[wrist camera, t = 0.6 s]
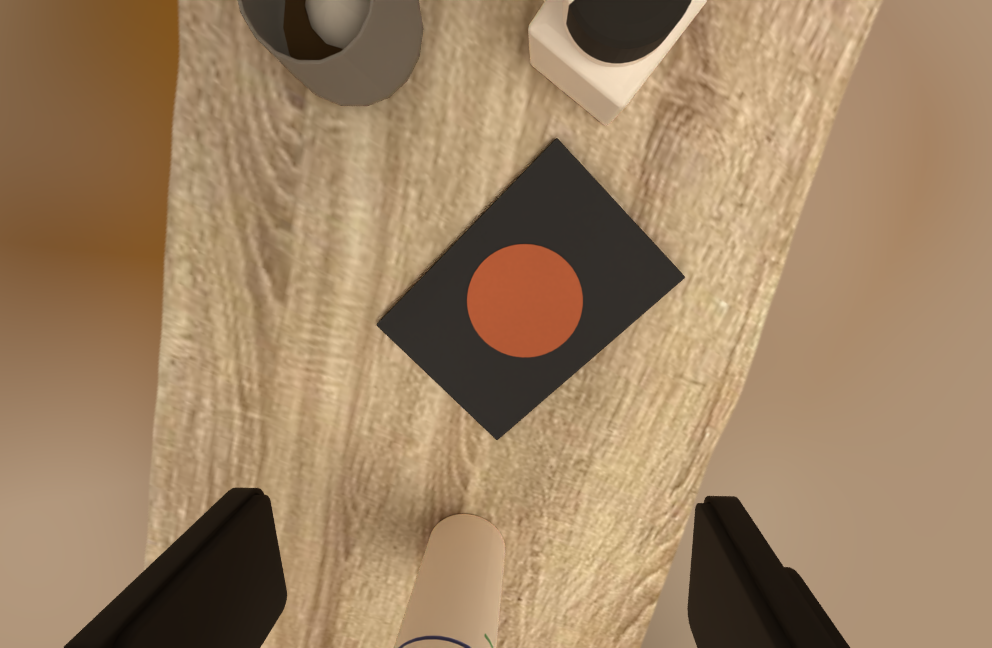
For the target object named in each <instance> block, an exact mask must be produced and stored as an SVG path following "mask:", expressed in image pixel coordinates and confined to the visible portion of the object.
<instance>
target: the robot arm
mask: <svg viewBox="0 0 992 648" xmlns="http://www.w3.org/2000/svg"><path fill="white" fill-rule="evenodd" d="M286 600H287V590H286V584H285V579H284V573H283V568H282V562H281V557H280V551H279V546H278V540H277V535H276V529H275V524H274V518H273V513H272V507H271V502H270V498H269V497H268V496H267V495H264V493H263V491H262V490H261V489H259V488H232V489H231V490H229V491H228V492H227V493H226V494H225V495H224V496H223V497H222V498H221V499H220V500H219V501H217V502H216V503H215V504H214V505H213V506H212V507H211V508H210V509H209V510H208V511H207V512H206V513H205V514H204V515H203V516H202V517H201V518H199V519H198V520H197V521H196V522H195V523H194V524H193V525H192V526H191V527H190V528H189V529H188V530H187V531H186V532H185V533H184V534H183V535H181V536H180V537H179V538H178V539H177V540H176V541H175V542H174V543H173V544H172V545H171V546H170V547H169V548H168V549H167V550H166V551H165V552H164V553H162V554H161V555H160V556H159V557H158V558H157V559H156V560H155V561H154V562H153V563H152V564H151V565H150V566H149V567H148V568H147V569H146V570H144V571H143V572H142V573H141V574H140V575H139V576H138V577H137V578H136V579H135V580H134V581H133V582H132V583H131V584H130V585H129V586H128V587H126V588H125V590H123V591H122V592H121V593H120V594H119V595H118V596H117V597H116V598H115V599H114V600H113V601H112V602H111V603H110V604H109V605H107V606H106V607H105V608H104V609H103V610H102V611H101V612H100V613H99V614H98V615H97V616H96V617H95V618H94V619H93V620H92V621H91V622H89V623H88V624H87V625H86V626H85V627H84V628H83V629H82V630H81V631H80V632H79V633H78V634H77V635H76V636H75V637H74V638H73V639H72V640H70V641H69V642H68V643H67V644H66V645H65V646H64V648H260V647H261V645H262V644H263V642H264V641H265V639H266V637H267V636H268V634H269V633H270V631H271V629H272V628H273V626H274V624H275V623H276V621H277V620H278V618H279V616H280V615H281V613H282V611H283V609H284V607H285V604H286ZM688 618H689V624H690V628H691V631H692V633H693V636H694V639H695V642H696V645H697V648H850V647H849V645H848V644H847V643H846V641H845V640H844V638H843V637H842V635H841V634H840V633H839V631H838V630H837V628H836V627H835V625H834V624H833V622H832V621H831V619H830V618H829V617H828V615H827V614H826V612H825V611H824V609H823V608H822V607H821V605H820V604H819V602H818V601H817V599H816V598H815V597H814V595H813V594H812V592H811V591H810V589H809V588H808V586H807V585H806V583H805V582H804V581H803V579H802V578H801V577H800V575H799V574H798V573H797V572H796V571H795V570H794V569H792V568H790V567H789V568H788V567H783V565H782V564H781V562H780V561H779V559H778V558H777V556H776V555H775V553H774V552H773V550H772V549H771V547H770V546H769V544H768V543H767V541H766V540H765V538H764V537H763V535H762V534H761V532H760V531H759V529H758V528H757V526H756V525H755V523H754V522H753V520H752V519H751V517H750V516H749V514H748V513H747V511H746V510H745V508H744V507H743V505H742V504H741V502H740V501H739V499H738V498H737V497H734V496H733V497H731V496H707V497H706V498H705V500H704V503H698V504H697V505H696V508H695V519H694V533H693V545H692V558H691V571H690V584H689V597H688Z"/></svg>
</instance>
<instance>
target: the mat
mask: <svg viewBox="0 0 992 648" xmlns="http://www.w3.org/2000/svg"><path fill="white" fill-rule="evenodd" d="M684 278H685V276H684V275H683V274H682V273H681V272H680V271H679V270H678V269H677V268H676V266H675V265H674V264H673V263H672V262H671V261H670V260H669V259H668V258H667V257H666V256H665V255H664V253H663V252H662V251H661V250H660V249H659V248H658V247H657V246H656V245H655V244H654V243H653V242H652V240H651V239H650V238H649V237H648V236H647V235H646V234H645V233H644V232H643V231H642V230H641V229H640V227H639V226H638V225H637V224H636V223H635V222H634V221H633V220H632V219H631V218H630V217H629V215H628V214H627V213H626V212H625V211H624V210H623V209H622V208H621V207H620V206H619V205H618V204H617V202H616V201H615V200H614V199H613V198H612V197H611V196H610V195H609V194H608V193H607V192H606V191H605V189H604V188H603V187H602V186H601V185H600V184H599V183H598V182H597V181H596V180H595V179H594V178H593V176H592V175H591V174H590V173H589V172H588V171H587V170H586V169H585V168H584V167H583V166H582V165H581V163H580V162H579V161H578V160H577V159H576V158H575V157H574V156H573V155H572V154H571V153H570V151H569V150H568V149H567V148H566V147H565V146H564V145H563V144H562V143H561V142H560V141H559V140H558V138H556V139H555V140H554V141H553V142H552V143H551V144H550V145H549V146H548V147H547V148H546V149H545V151H544V152H543V153H542V154H541V155H540V156H539V157H538V158H537V159H536V160H535V161H534V162H533V163H532V164H531V165H530V166H529V167H528V168H527V169H526V170H525V171H524V172H523V173H522V174H521V175H520V176H519V177H518V178H517V180H516V181H515V182H514V183H513V184H512V185H511V186H510V187H509V188H508V189H507V190H506V191H505V192H504V193H503V194H502V195H501V196H500V197H499V198H498V199H497V200H496V201H495V202H494V203H493V204H492V205H491V206H490V207H489V208H488V210H487V211H486V212H485V213H484V214H483V215H482V216H481V217H480V218H479V219H478V220H477V221H476V222H475V223H474V224H473V225H472V226H471V227H470V228H469V229H468V230H467V231H466V232H465V233H464V234H463V235H462V236H461V237H460V238H459V240H458V241H457V242H456V243H455V244H454V245H453V246H452V247H451V248H450V249H449V250H448V251H447V252H446V253H445V254H444V255H443V256H442V257H441V258H440V259H439V260H438V261H437V262H436V263H435V264H434V265H433V266H432V267H431V268H430V270H429V271H428V272H427V273H426V274H425V275H424V276H423V277H422V278H421V279H420V280H419V281H418V282H417V283H416V284H415V285H414V286H413V287H412V288H411V289H410V290H409V291H408V292H407V293H406V294H405V295H404V296H403V297H402V298H401V300H400V301H399V302H398V303H397V304H396V305H395V306H394V307H393V308H392V309H391V310H390V311H389V312H388V313H387V314H386V315H385V316H384V317H383V318H382V319H381V320H380V321H379V322H378V323H377V324H376V325H377V326H378V327H379V328H380V329H381V330H382V331H383V332H384V333H385V334H386V335H387V336H388V337H389V338H390V339H391V340H392V341H393V342H395V343H396V344H397V345H398V346H399V347H400V348H401V349H402V350H403V351H404V352H405V353H406V354H407V355H408V356H409V357H410V358H411V359H412V360H413V361H414V362H415V363H417V364H418V365H419V366H420V367H421V368H422V369H423V370H424V371H425V372H426V373H427V374H428V375H429V376H430V377H431V378H432V379H433V380H434V381H435V382H436V383H437V384H438V385H440V386H441V387H442V388H443V389H444V390H445V391H446V392H447V393H448V394H449V395H450V396H451V397H452V398H453V399H454V400H455V401H456V402H457V403H458V404H459V405H460V406H462V407H463V408H464V409H465V410H466V411H467V412H468V413H469V414H470V415H471V416H472V417H473V418H474V419H475V420H476V421H477V422H478V423H479V424H480V425H481V426H482V427H484V428H485V429H486V430H487V431H488V432H489V433H490V434H491V435H492V436H493V437H494V438H495V439H496V440H498V439H499V438H500V437H502V436H503V435H504V434H505V433H506V432H507V431H509V430H510V429H511V428H512V427H513V426H514V425H515V424H517V423H518V422H519V421H520V420H521V419H522V418H524V417H525V416H526V415H527V414H528V413H529V412H531V411H532V410H533V409H534V408H535V407H536V406H537V405H539V404H540V403H541V402H542V401H543V400H544V399H546V398H547V397H548V396H549V395H550V394H551V393H552V392H554V391H555V390H556V389H557V388H558V387H559V386H561V385H562V384H563V383H564V382H565V381H566V380H567V379H569V378H570V377H571V376H572V375H573V374H574V373H576V372H577V371H578V370H579V369H580V368H581V367H582V366H584V365H585V364H586V363H587V362H588V361H589V360H591V359H592V358H593V357H594V356H595V355H596V354H597V353H599V352H600V351H601V350H602V349H603V348H604V347H606V346H607V345H608V344H609V343H610V342H611V341H612V340H614V339H615V338H616V337H617V336H618V335H619V334H621V333H622V332H623V331H624V330H625V329H626V328H627V327H629V326H630V325H631V324H632V323H633V322H634V321H636V320H637V319H638V318H639V317H640V316H641V315H643V314H644V313H645V312H646V311H647V310H648V309H649V308H651V307H652V306H653V305H654V304H655V303H656V302H658V301H659V300H660V299H661V298H662V297H663V296H664V295H666V294H667V293H668V292H669V291H670V290H671V289H673V288H674V287H675V286H676V285H677V284H678V283H679V282H681V281H682V280H683V279H684Z"/></svg>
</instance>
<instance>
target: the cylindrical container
mask: <svg viewBox="0 0 992 648" xmlns="http://www.w3.org/2000/svg"><path fill="white" fill-rule="evenodd" d="M504 560H505V543H504V540H503V537H502V535H501V534H500V532H499V530H498V529H497V528H496V527H495V526H494V525H493V524H492V523H490V522H489V521H487V520H485V519H484V518H482V517H479V516H476V515H470V514H457V515H452V516H449V517H447V518H445V519H443V520H442V521H440V522H439V523H438V524H437V525H436V526H435V527H434V529H433V530H432V532H431V535H430V538H429V541H428V544H427V547H426V550H425V553H424V556H423V559H422V562H421V565H420V568H419V571H418V574H417V577H416V580H415V583H414V587H413V590H412V593H411V596H410V599H409V602H408V605H407V608H406V611H405V614H404V618H403V621H402V624H401V627H400V630H399V633H398V636H397V639H396V642H395V645H394V648H496V645H497V634H498V623H499V613H500V602H501V592H502V581H503V570H504Z"/></svg>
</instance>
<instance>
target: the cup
mask: <svg viewBox="0 0 992 648" xmlns="http://www.w3.org/2000/svg"><path fill="white" fill-rule="evenodd" d="M238 4H239V8H240V12H241V14H242V16H243V18H244V19H245V21H246V23H247V25H248V26H249V28H250V30H251V31H252V33H253V35H254V37H255V38H256V39H257V40H258V41H259V42H260V43H261V44H262V45H264V46H265V47H266V48H267V49H268V50H269V51H270V52H271V53H272V54H273V55H274V56H275V57H276V58H277V59H278V60H279V61H280V62H281V63H282V64H283V65H284V66H285V67H286V68H287V69H288V70H289V71H290V72H291V73H292V74H293V75H294V76H295V77H296V78H297V79H299V80H300V81H301V82H302V83H303V84H304V85H305V86H306V87H307V88H309V89H310V90H311V91H312V92H313V93H314V94H315V95H317V96H319V97H321V98H324V99H326V100H329V101H331V102H334V103H336V104H339V105H341V106H369V105H371V104H374V103H376V102H379V101H381V100H384V99H386V98H389V97H390V96H392V95H393V94H394V93H395V92H396V91H397V90H398V89H399V88H400V87H401V86H402V85H403V84H404V83H405V82H406V81H407V80H408V79H409V77H410V75H411V73H412V71H413V69H414V67H415V65H416V63H417V61H418V59H419V56H420V49H421V42H422V35H423V23H422V17H421V11H420V5H419V0H238Z"/></svg>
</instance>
